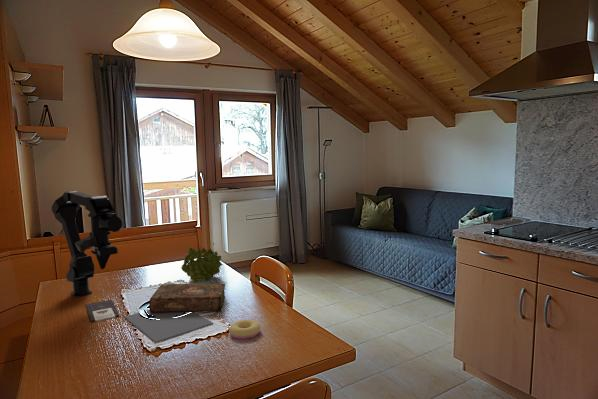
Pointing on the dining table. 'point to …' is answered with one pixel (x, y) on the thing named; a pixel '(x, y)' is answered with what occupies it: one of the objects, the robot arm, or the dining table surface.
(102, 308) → the chocolate bar
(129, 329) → the dining table surface
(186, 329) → the mat
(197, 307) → the book
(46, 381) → the dining table surface
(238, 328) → the donut
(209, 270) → the green leafy plant
